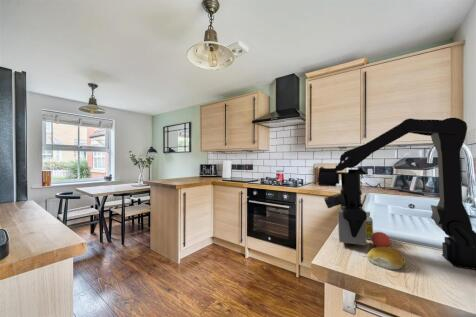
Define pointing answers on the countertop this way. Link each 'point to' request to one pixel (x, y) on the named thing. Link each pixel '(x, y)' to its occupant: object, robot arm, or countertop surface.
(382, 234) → the ball
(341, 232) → the gray block
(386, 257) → the bread roll
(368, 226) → the supplement bottle
